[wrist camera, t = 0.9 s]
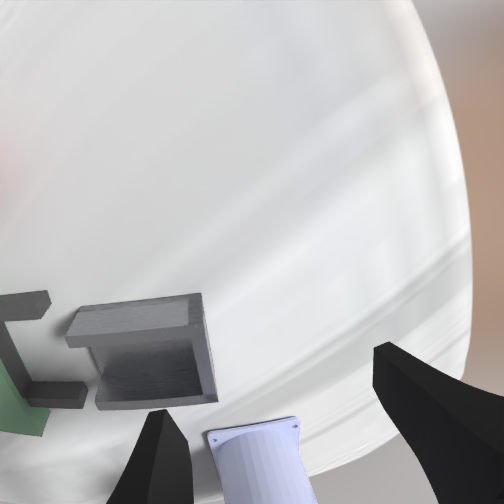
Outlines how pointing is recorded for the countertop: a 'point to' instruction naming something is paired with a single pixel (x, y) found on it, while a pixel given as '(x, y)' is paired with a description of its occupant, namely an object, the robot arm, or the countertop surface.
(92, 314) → the chute
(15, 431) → the green pronged block
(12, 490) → the countertop surface
